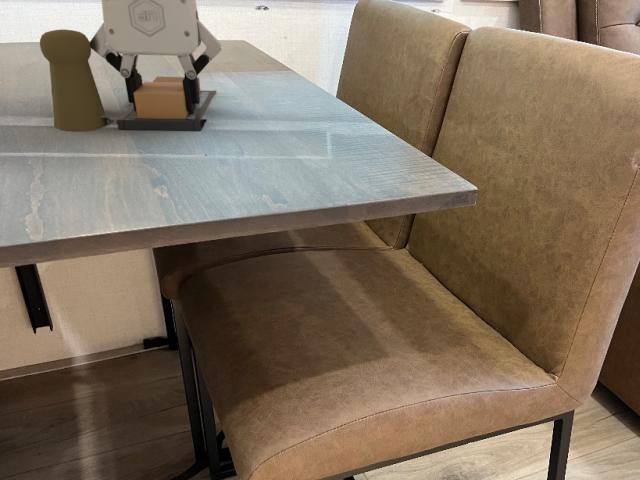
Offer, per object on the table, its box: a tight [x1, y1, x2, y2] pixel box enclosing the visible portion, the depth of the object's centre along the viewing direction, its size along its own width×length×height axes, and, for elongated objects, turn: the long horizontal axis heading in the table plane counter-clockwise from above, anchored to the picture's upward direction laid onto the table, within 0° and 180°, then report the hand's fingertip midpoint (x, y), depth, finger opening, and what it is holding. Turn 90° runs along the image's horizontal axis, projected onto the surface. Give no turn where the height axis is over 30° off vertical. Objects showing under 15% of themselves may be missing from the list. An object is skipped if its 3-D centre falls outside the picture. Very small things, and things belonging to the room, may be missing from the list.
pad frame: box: [116, 90, 217, 132], centre depth 83 cm, size 10×16×2 cm, turn 7°
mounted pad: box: [152, 76, 202, 96], centre depth 86 cm, size 6×6×3 cm
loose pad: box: [134, 81, 190, 119], centre depth 79 cm, size 6×6×3 cm
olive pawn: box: [39, 29, 109, 133], centre depth 75 cm, size 6×6×11 cm
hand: (165, 107), depth 79 cm, fingers closed on loose pad, 5 cm apart
